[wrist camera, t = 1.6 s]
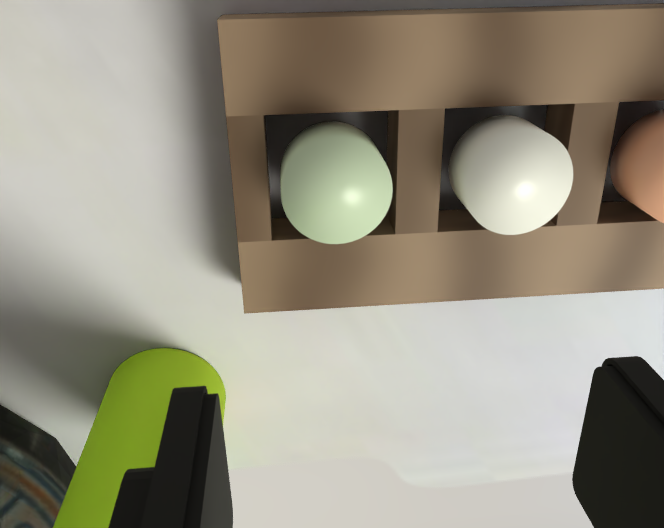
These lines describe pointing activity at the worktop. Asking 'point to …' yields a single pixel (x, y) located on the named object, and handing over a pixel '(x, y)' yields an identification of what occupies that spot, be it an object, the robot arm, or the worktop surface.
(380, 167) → the button sage
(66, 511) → the soap dispenser
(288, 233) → the button panel
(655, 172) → the button terracotta
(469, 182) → the white dome
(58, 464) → the beer stein
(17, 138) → the worktop surface
